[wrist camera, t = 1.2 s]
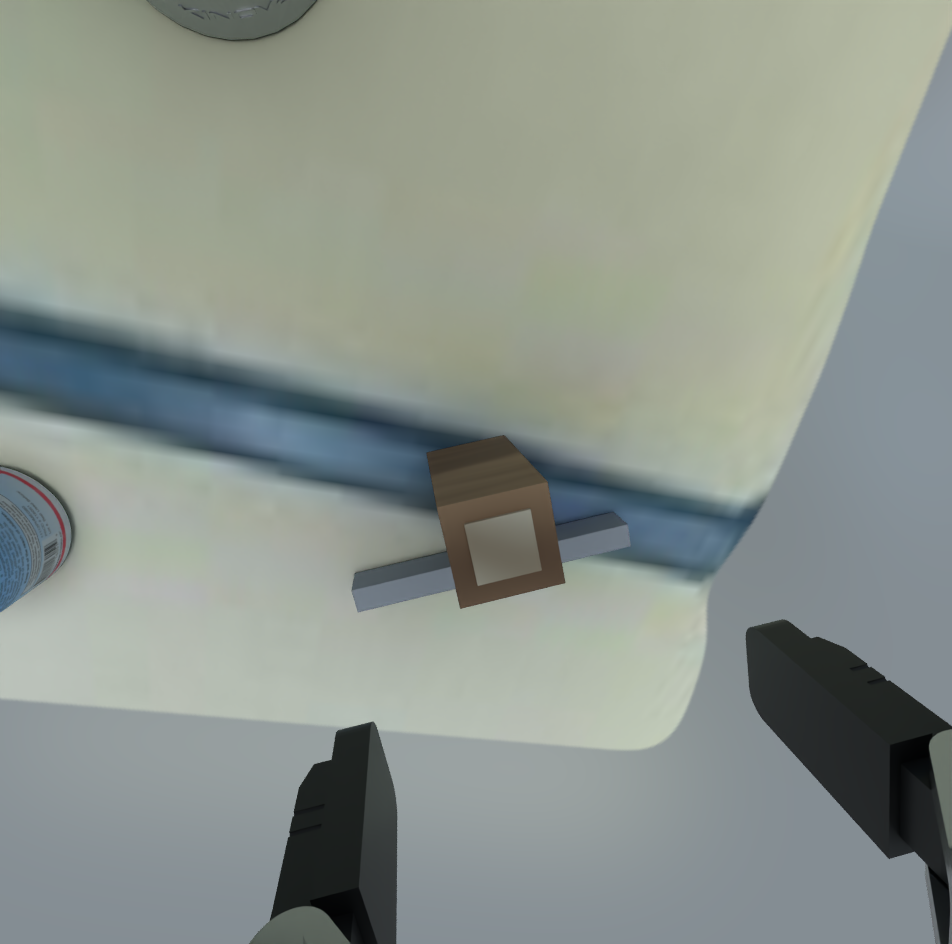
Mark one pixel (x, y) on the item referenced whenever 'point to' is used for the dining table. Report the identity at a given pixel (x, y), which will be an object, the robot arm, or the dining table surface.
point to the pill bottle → (29, 535)
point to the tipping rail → (437, 575)
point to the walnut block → (495, 521)
